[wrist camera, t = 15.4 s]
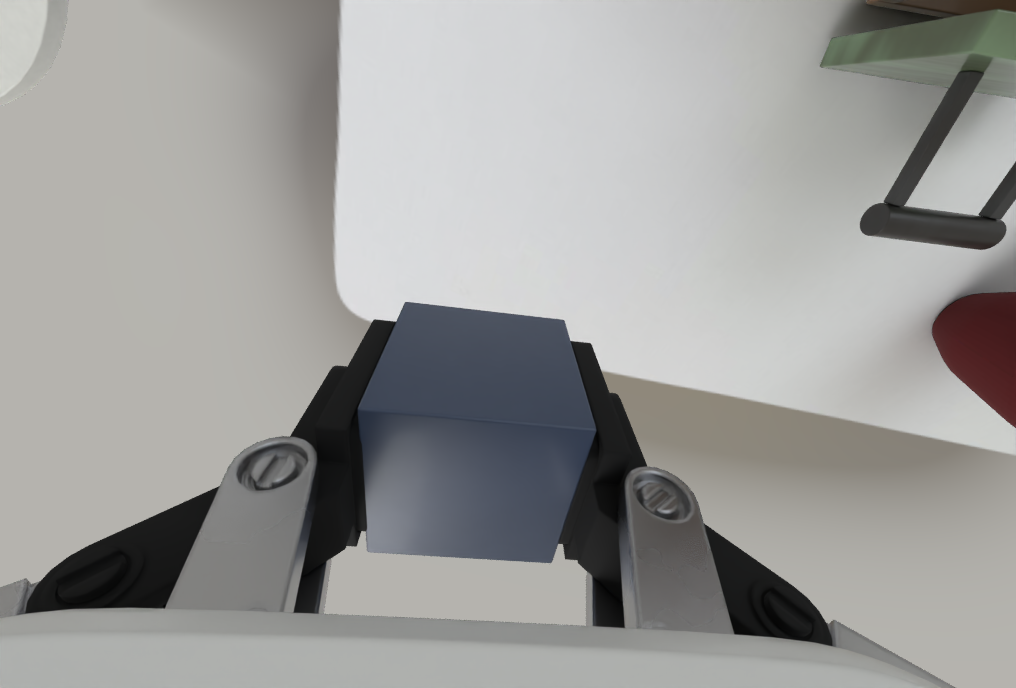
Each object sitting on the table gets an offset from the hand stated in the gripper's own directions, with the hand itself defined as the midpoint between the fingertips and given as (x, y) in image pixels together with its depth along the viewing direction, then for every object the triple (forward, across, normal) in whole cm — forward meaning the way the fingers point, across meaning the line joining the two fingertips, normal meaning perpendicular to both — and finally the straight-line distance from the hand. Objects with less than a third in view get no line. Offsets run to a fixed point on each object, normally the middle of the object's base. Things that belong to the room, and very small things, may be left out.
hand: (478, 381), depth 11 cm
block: (0, 0, 0) cm, 0 cm away
